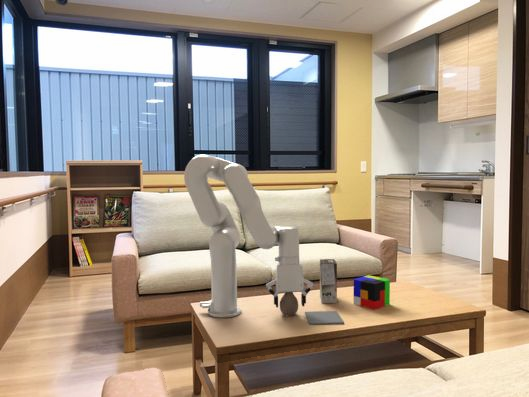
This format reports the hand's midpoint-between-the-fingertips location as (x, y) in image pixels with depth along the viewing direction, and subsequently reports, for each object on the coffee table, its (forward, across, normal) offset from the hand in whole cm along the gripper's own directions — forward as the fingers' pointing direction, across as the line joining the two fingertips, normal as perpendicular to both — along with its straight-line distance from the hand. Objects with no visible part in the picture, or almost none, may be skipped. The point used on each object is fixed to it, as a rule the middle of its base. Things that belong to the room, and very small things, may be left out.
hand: (290, 305), depth 156 cm
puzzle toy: (+4, +34, +10) cm, 35 cm away
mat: (+3, +12, -5) cm, 13 cm away
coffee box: (+4, +18, +17) cm, 25 cm away
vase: (+4, 0, 0) cm, 4 cm away
